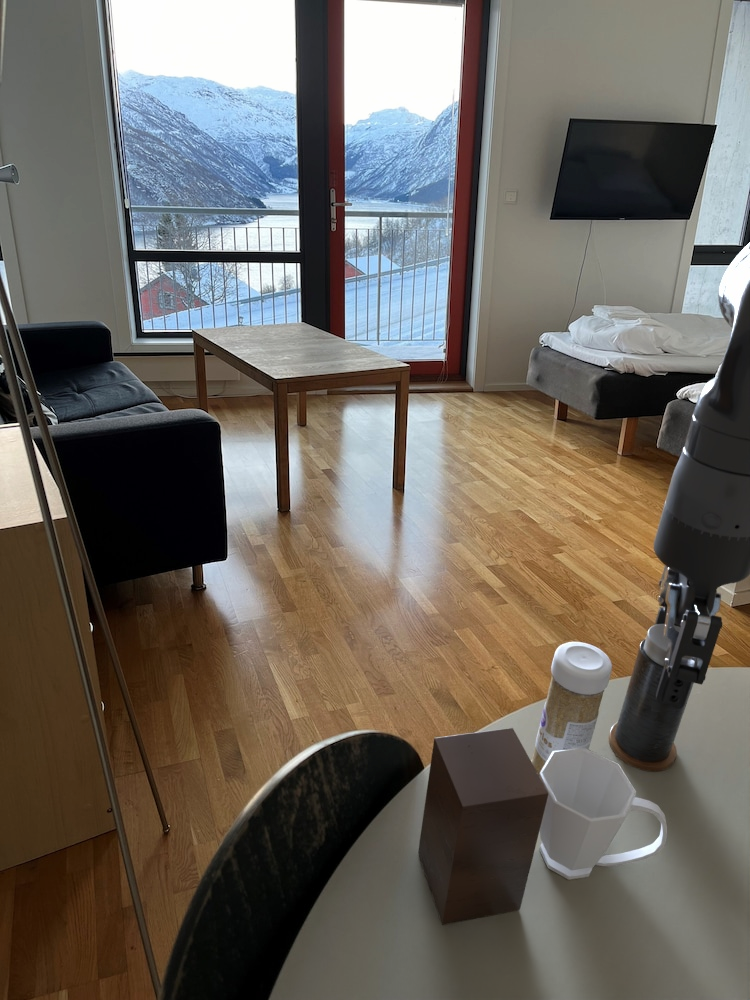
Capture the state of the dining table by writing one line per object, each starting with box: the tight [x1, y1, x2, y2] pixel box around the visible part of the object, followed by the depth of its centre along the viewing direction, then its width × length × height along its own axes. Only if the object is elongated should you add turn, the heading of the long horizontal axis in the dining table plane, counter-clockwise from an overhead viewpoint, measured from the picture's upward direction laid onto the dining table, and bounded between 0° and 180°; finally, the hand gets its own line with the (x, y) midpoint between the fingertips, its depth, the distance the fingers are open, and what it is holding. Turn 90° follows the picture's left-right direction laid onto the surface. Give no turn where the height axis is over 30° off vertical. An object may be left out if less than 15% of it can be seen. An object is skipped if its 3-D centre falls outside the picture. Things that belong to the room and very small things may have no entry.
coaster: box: [608, 721, 678, 772], centre depth 69 cm, size 6×6×1 cm
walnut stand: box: [417, 727, 549, 926], centre depth 53 cm, size 6×6×12 cm
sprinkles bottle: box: [530, 641, 613, 777], centre depth 62 cm, size 5×5×13 cm
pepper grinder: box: [615, 624, 695, 763], centre depth 66 cm, size 5×5×12 cm
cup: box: [538, 748, 668, 881], centre depth 56 cm, size 7×10×8 cm
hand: (665, 672), depth 65 cm, fingers open, 8 cm apart
